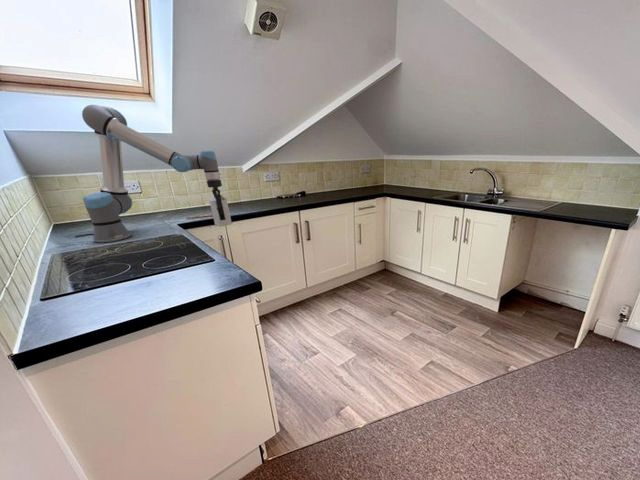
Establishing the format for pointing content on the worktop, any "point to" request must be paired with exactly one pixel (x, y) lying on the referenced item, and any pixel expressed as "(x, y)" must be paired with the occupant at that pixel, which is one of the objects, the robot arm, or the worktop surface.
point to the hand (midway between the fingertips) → (222, 218)
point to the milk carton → (216, 212)
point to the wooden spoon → (200, 216)
